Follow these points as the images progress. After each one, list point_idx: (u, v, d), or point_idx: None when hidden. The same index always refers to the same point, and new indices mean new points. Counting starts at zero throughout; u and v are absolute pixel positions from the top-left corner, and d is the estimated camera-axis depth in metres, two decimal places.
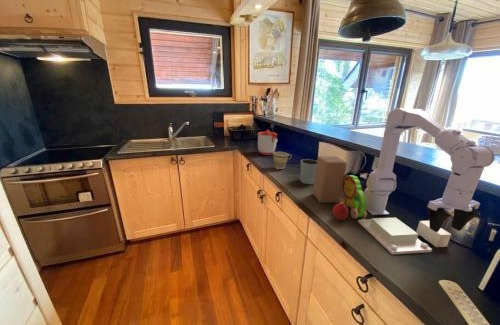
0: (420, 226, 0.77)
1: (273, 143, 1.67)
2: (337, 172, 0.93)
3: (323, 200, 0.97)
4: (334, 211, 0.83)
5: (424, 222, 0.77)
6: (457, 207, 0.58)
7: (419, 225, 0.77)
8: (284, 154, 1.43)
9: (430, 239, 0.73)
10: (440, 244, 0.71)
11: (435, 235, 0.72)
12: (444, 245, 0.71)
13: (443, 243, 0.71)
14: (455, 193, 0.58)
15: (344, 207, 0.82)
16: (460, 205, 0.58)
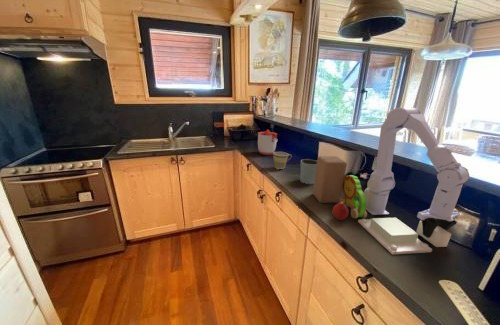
0: (420, 226, 0.77)
1: (273, 143, 1.67)
2: (337, 172, 0.93)
3: (323, 200, 0.97)
4: (334, 211, 0.83)
5: None
6: (441, 217, 0.69)
7: (419, 225, 0.77)
8: (284, 154, 1.43)
9: (430, 239, 0.73)
10: (440, 244, 0.71)
11: (435, 234, 0.72)
12: (444, 245, 0.71)
13: (443, 242, 0.71)
14: (439, 206, 0.69)
15: (344, 207, 0.82)
16: (444, 215, 0.69)
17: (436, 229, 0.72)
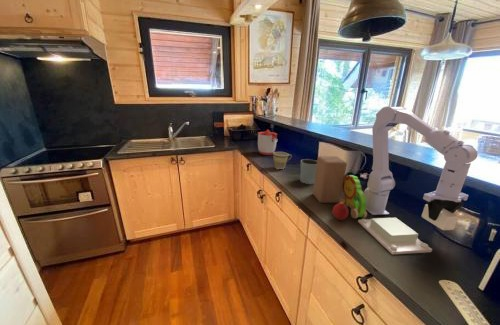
0: (426, 209, 0.75)
1: (273, 143, 1.67)
2: (337, 172, 0.93)
3: (323, 200, 0.97)
4: (334, 211, 0.83)
5: None
6: (448, 198, 0.67)
7: (425, 209, 0.75)
8: (284, 154, 1.43)
9: (437, 222, 0.71)
10: (447, 227, 0.69)
11: (441, 217, 0.69)
12: (451, 228, 0.69)
13: (450, 225, 0.69)
14: (446, 186, 0.67)
15: (344, 207, 0.82)
16: (451, 196, 0.67)
17: (443, 212, 0.70)
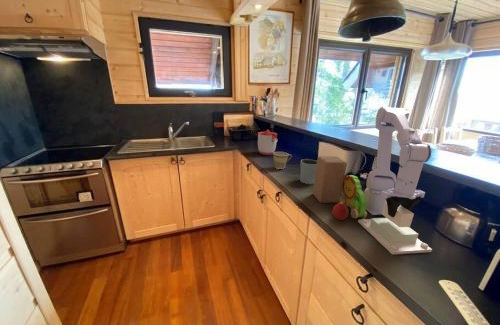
0: (386, 207, 0.76)
1: (273, 143, 1.67)
2: (337, 172, 0.93)
3: (323, 200, 0.97)
4: (334, 211, 0.83)
5: None
6: (403, 195, 0.68)
7: (385, 206, 0.77)
8: (284, 154, 1.43)
9: (394, 220, 0.72)
10: (403, 224, 0.70)
11: (398, 214, 0.71)
12: (407, 225, 0.71)
13: (406, 222, 0.70)
14: (402, 183, 0.68)
15: (344, 207, 0.82)
16: (406, 193, 0.68)
17: (399, 209, 0.72)
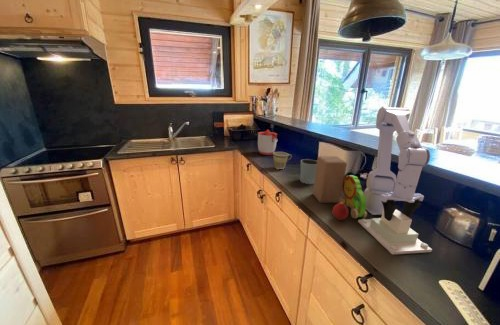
0: None
1: (273, 143, 1.67)
2: (337, 172, 0.93)
3: (323, 200, 0.97)
4: (334, 211, 0.83)
5: None
6: (402, 199, 0.69)
7: (383, 212, 0.77)
8: (284, 154, 1.43)
9: (392, 225, 0.73)
10: (401, 230, 0.71)
11: (396, 220, 0.72)
12: (405, 231, 0.71)
13: (404, 228, 0.71)
14: (401, 187, 0.69)
15: (344, 207, 0.82)
16: (405, 197, 0.69)
17: (398, 215, 0.72)
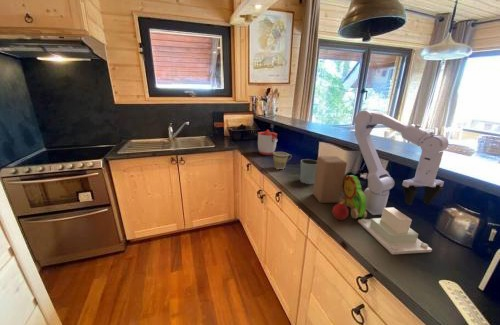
0: (384, 213, 0.77)
1: (273, 143, 1.67)
2: (337, 172, 0.93)
3: (323, 200, 0.97)
4: (334, 211, 0.83)
5: (388, 208, 0.77)
6: (424, 184, 0.74)
7: (383, 212, 0.77)
8: (284, 154, 1.43)
9: (392, 225, 0.73)
10: (401, 230, 0.71)
11: (396, 220, 0.72)
12: (405, 231, 0.71)
13: (404, 228, 0.71)
14: (422, 173, 0.74)
15: (344, 207, 0.82)
16: (427, 182, 0.74)
17: (398, 215, 0.72)
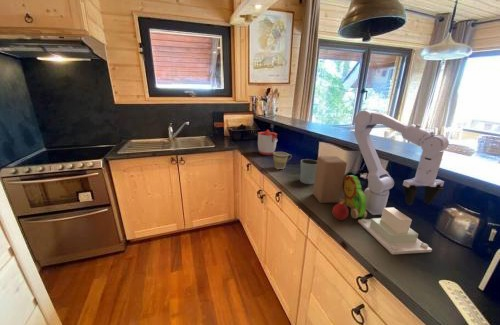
0: (384, 213, 0.77)
1: (273, 143, 1.67)
2: (337, 172, 0.93)
3: (323, 200, 0.97)
4: (334, 211, 0.83)
5: (388, 208, 0.77)
6: (425, 184, 0.74)
7: (383, 212, 0.77)
8: (284, 154, 1.43)
9: (392, 225, 0.73)
10: (401, 230, 0.71)
11: (396, 220, 0.72)
12: (405, 231, 0.71)
13: (404, 228, 0.71)
14: (423, 173, 0.74)
15: (344, 207, 0.82)
16: (427, 182, 0.74)
17: (398, 215, 0.72)
